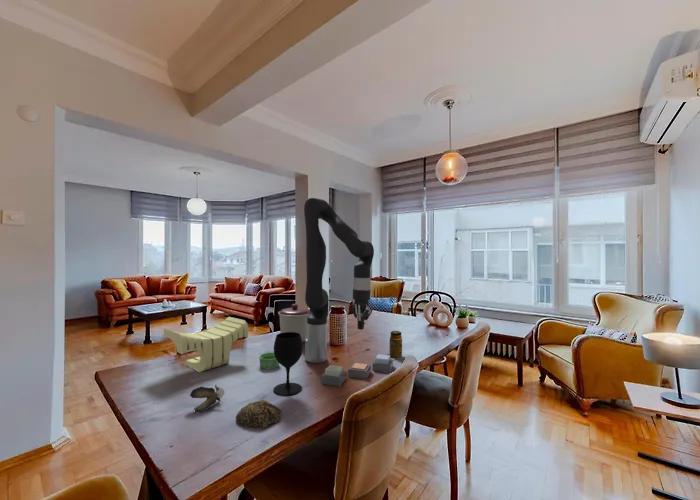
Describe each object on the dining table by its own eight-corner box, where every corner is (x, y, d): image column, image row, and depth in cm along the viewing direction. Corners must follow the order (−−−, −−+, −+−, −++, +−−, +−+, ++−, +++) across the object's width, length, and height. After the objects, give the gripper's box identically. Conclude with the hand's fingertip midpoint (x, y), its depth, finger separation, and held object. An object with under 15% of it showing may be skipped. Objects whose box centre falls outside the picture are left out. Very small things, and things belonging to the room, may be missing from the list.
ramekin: (272, 370, 132) (272, 360, 132) (254, 367, 135) (254, 357, 135) (283, 363, 140) (283, 353, 140) (266, 361, 143) (266, 351, 143)
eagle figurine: (210, 393, 108) (185, 398, 100) (220, 378, 106) (196, 382, 99) (219, 411, 104) (194, 418, 96) (230, 395, 102) (205, 401, 95)
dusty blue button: (375, 365, 134) (375, 358, 134) (378, 360, 139) (378, 354, 139) (388, 366, 132) (388, 359, 132) (390, 362, 137) (390, 355, 137)
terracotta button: (351, 374, 127) (351, 367, 127) (355, 370, 132) (355, 362, 132) (364, 376, 125) (364, 369, 125) (367, 371, 131) (367, 364, 131)
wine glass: (273, 397, 107) (274, 340, 107) (272, 385, 117) (273, 332, 117) (303, 394, 110) (304, 338, 110) (300, 382, 120) (301, 330, 120)
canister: (300, 335, 186) (300, 300, 186) (316, 342, 172) (317, 304, 172) (272, 340, 175) (272, 303, 175) (287, 348, 161) (288, 308, 161)
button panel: (315, 378, 123) (315, 371, 123) (384, 362, 143) (384, 355, 143) (328, 389, 114) (328, 381, 114) (400, 369, 134) (400, 362, 134)
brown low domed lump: (230, 420, 93) (230, 404, 93) (262, 404, 103) (262, 389, 103) (258, 435, 86) (258, 417, 86) (290, 415, 96) (290, 399, 96)
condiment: (405, 357, 150) (406, 332, 150) (392, 360, 145) (392, 335, 145) (395, 353, 156) (395, 329, 156) (382, 356, 151) (382, 331, 151)
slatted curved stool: (181, 380, 120) (182, 334, 120) (163, 371, 130) (163, 328, 130) (247, 359, 145) (248, 321, 145) (228, 352, 154) (228, 316, 154)
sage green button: (324, 377, 120) (325, 369, 120) (329, 372, 125) (329, 364, 125) (338, 379, 119) (338, 371, 119) (342, 373, 124) (342, 366, 124)
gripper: (345, 286, 134) (344, 326, 134) (363, 290, 123) (362, 334, 123) (360, 286, 139) (359, 324, 139) (378, 289, 127) (377, 331, 127)
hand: (360, 329), depth 131 cm, fingers closed
